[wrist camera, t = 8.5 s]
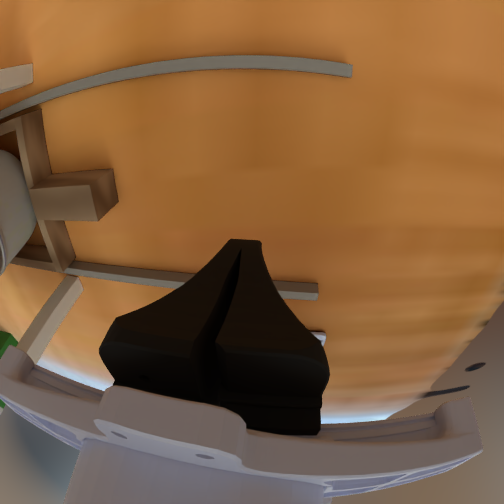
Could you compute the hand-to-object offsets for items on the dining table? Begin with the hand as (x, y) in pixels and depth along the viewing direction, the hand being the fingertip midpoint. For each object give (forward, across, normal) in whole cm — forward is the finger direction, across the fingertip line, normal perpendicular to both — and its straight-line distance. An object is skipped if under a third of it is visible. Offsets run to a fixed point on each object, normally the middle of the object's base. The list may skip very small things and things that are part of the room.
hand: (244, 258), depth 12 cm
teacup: (+8, +25, 0) cm, 27 cm away
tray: (+8, +24, 0) cm, 25 cm away
